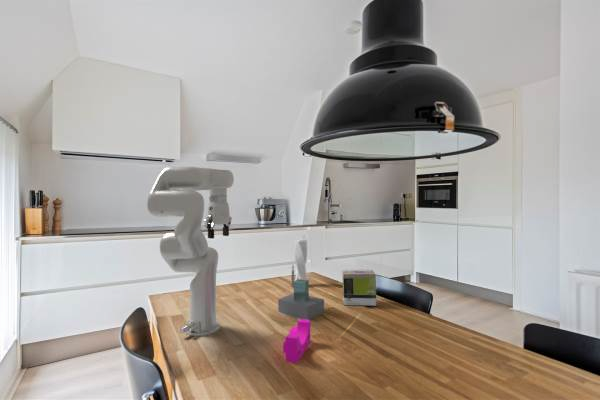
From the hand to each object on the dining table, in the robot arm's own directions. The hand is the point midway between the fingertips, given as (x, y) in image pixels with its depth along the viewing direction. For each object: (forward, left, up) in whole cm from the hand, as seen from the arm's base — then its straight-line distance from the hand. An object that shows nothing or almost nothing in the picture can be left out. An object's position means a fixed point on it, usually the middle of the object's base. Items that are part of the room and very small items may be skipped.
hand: (218, 237), depth 140 cm
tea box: (+35, -55, -33) cm, 73 cm away
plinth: (+12, -36, -33) cm, 50 cm away
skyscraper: (+50, -16, -33) cm, 62 cm away
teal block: (+12, -36, -27) cm, 46 cm away
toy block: (-19, -49, -33) cm, 62 cm away
